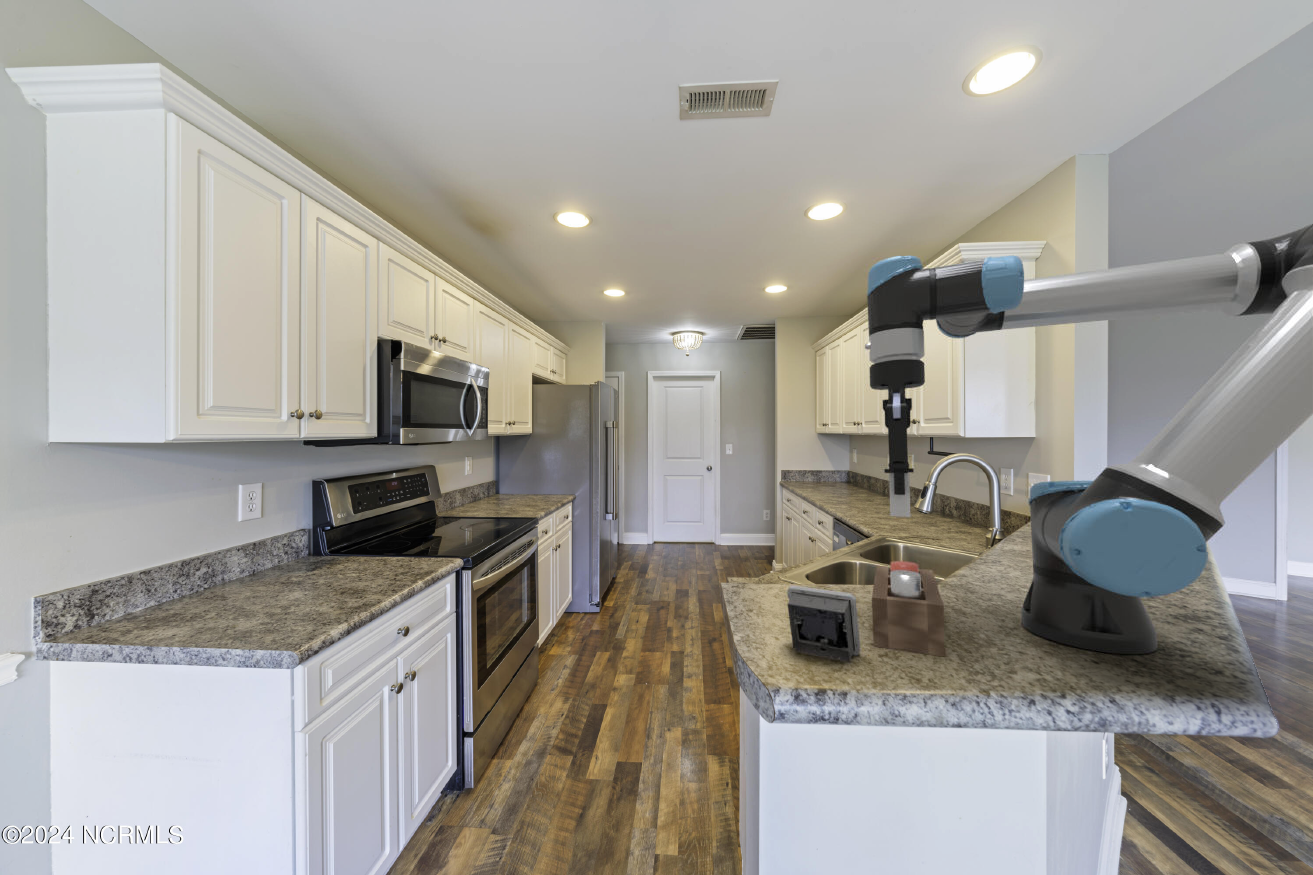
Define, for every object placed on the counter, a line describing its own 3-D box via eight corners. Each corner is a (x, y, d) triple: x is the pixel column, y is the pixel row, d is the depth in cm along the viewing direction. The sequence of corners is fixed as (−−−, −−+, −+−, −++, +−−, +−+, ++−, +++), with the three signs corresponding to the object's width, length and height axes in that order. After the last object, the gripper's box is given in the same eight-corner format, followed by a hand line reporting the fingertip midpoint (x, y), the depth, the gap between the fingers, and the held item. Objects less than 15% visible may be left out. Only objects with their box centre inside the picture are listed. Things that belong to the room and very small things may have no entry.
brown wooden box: (934, 609, 83) (932, 570, 83) (945, 656, 64) (943, 605, 64) (877, 603, 87) (876, 565, 87) (873, 645, 68) (871, 597, 68)
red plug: (919, 599, 77) (917, 562, 77) (920, 606, 73) (919, 567, 73) (891, 596, 78) (890, 560, 79) (891, 603, 75) (890, 565, 75)
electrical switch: (861, 654, 66) (858, 589, 65) (855, 672, 61) (851, 603, 61) (795, 641, 71) (791, 580, 70) (784, 657, 66) (780, 593, 66)
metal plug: (921, 611, 71) (919, 571, 71) (922, 620, 67) (921, 578, 67) (891, 607, 73) (890, 569, 73) (891, 616, 69) (890, 575, 69)
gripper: (872, 370, 79) (876, 509, 79) (865, 357, 68) (870, 520, 67) (923, 366, 76) (927, 512, 75) (925, 351, 64) (930, 523, 64)
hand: (900, 515), depth 71 cm, fingers closed
